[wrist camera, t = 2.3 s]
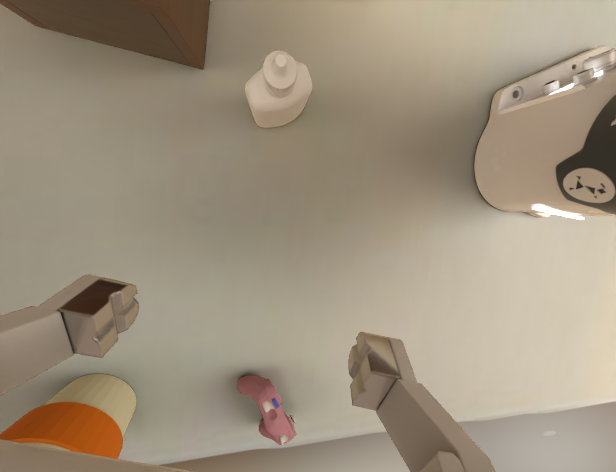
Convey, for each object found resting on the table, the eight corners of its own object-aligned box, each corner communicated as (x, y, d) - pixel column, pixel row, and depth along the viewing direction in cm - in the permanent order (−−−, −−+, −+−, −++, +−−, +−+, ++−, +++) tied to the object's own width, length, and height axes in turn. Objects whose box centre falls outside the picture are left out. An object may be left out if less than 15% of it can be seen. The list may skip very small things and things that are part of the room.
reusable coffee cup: (169, 411, 34) (94, 581, 20) (89, 453, 34) (-47, 655, 20) (112, 345, 31) (-29, 492, 17) (22, 391, 31) (-200, 580, 16)
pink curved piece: (283, 407, 39) (307, 440, 33) (258, 429, 37) (279, 469, 31) (261, 358, 36) (282, 385, 30) (232, 379, 34) (249, 413, 28)
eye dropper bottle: (254, 82, 26) (238, 9, 15) (305, 93, 27) (328, 32, 16) (250, 125, 27) (232, 88, 16) (299, 135, 28) (317, 106, 17)
